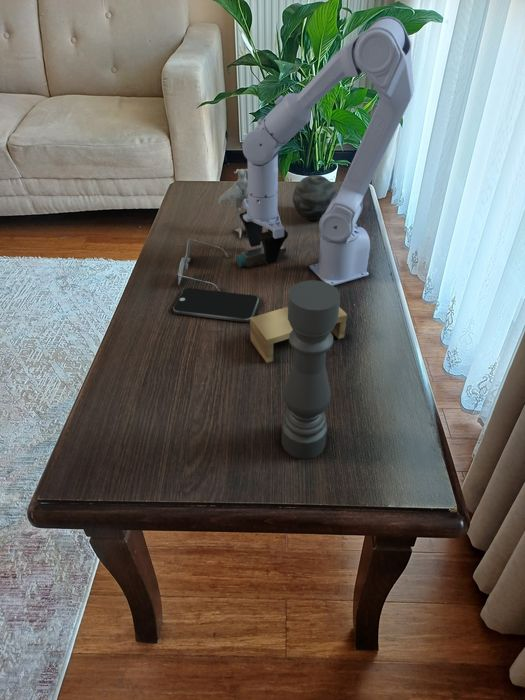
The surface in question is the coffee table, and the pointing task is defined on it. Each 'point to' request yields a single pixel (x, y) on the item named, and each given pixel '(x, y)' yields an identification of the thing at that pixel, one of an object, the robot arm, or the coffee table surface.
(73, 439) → the coffee table surface
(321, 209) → the decorative stone
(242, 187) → the figurine
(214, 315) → the smartphone
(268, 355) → the shelf
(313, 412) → the candle holder
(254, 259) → the grey and teal bar
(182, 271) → the sunglasses
